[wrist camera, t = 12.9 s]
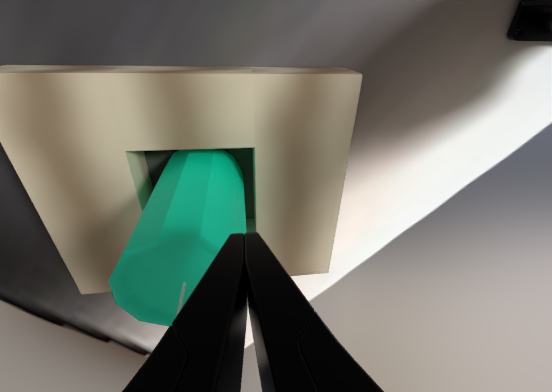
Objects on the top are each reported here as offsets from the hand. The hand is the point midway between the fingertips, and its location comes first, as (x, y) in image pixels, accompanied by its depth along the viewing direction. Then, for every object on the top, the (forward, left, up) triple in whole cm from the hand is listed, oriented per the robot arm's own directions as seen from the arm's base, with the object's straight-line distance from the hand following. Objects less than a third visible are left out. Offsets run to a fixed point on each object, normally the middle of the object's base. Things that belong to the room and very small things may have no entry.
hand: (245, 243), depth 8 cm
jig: (+3, +5, -13) cm, 14 cm away
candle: (+3, +4, -13) cm, 14 cm away
